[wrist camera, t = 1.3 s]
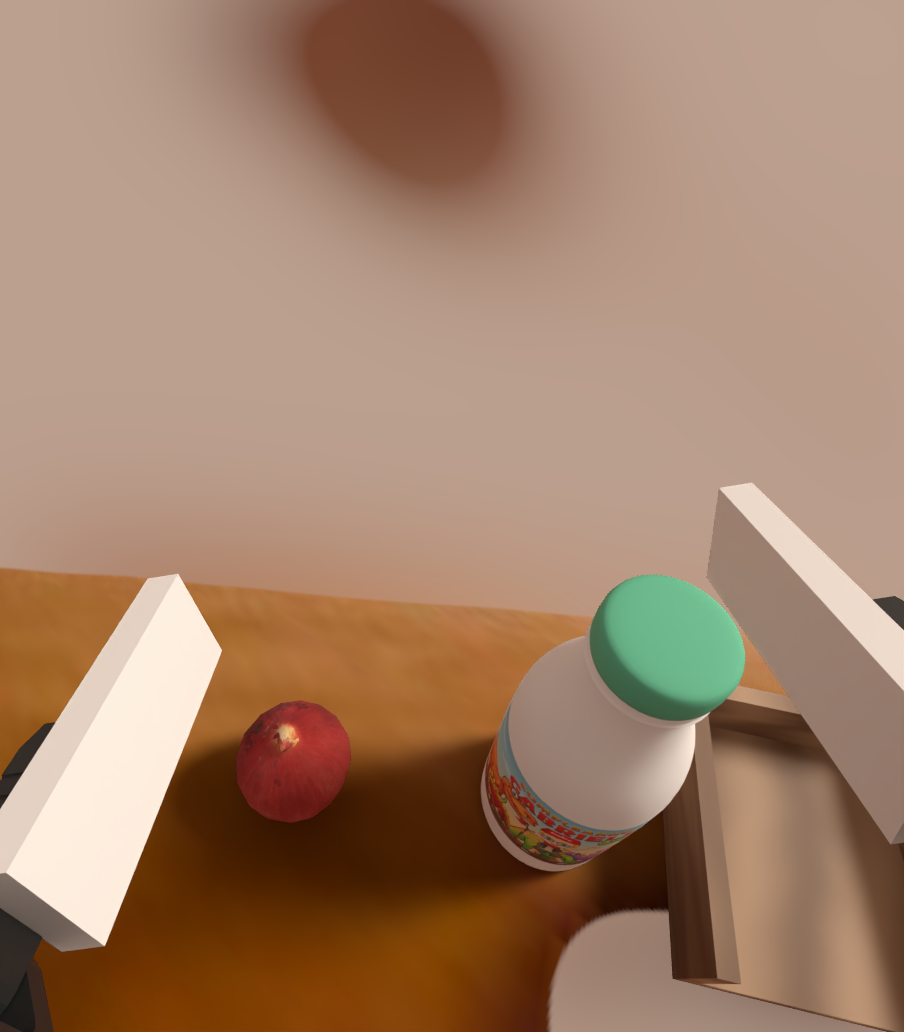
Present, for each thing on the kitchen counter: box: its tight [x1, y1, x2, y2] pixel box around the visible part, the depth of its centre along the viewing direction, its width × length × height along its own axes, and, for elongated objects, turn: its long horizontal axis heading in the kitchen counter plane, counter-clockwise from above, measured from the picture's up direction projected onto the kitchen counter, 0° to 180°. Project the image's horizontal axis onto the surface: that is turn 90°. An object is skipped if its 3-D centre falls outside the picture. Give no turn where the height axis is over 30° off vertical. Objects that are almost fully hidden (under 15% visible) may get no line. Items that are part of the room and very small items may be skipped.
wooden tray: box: [663, 684, 904, 1032], centre depth 30 cm, size 14×15×5 cm
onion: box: [236, 701, 351, 823], centre depth 29 cm, size 6×6×8 cm
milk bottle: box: [481, 575, 745, 871], centre depth 24 cm, size 8×8×20 cm
